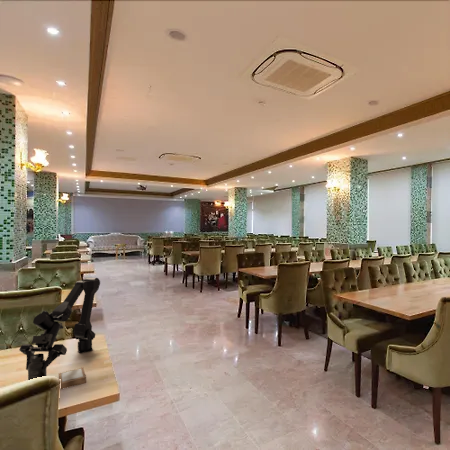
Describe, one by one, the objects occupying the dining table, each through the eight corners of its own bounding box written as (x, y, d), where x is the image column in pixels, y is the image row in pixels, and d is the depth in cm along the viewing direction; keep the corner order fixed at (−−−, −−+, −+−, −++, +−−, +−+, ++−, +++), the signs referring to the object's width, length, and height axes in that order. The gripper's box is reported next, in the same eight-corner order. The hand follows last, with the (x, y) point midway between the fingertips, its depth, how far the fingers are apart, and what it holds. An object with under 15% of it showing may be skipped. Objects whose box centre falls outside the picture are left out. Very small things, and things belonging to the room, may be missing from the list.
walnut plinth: (83, 372, 136) (83, 366, 136) (86, 382, 128) (86, 376, 128) (58, 378, 131) (58, 372, 131) (59, 389, 123) (59, 383, 123)
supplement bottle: (50, 380, 130) (50, 353, 130) (35, 388, 123) (35, 360, 123) (38, 377, 132) (38, 351, 132) (24, 385, 126) (23, 358, 125)
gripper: (21, 326, 131) (3, 362, 120) (63, 326, 131) (48, 362, 120) (33, 337, 139) (17, 372, 128) (72, 337, 139) (59, 372, 128)
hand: (35, 369), depth 126 cm, fingers closed on supplement bottle, 7 cm apart
